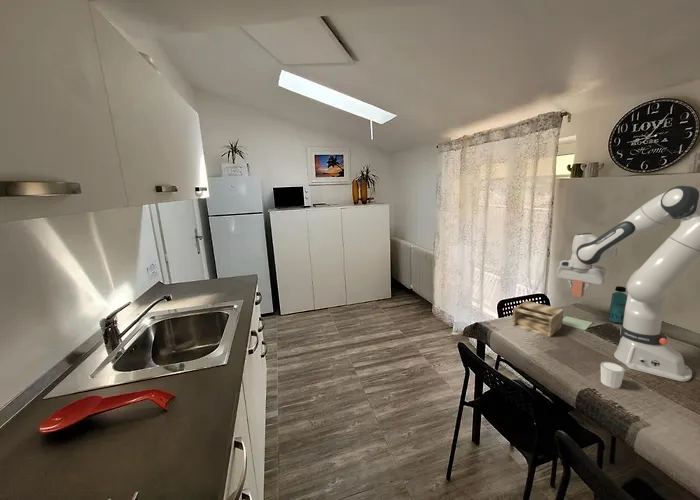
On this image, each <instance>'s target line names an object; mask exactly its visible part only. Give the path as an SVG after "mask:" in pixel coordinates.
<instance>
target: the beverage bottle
mask: <svg viewBox="0 0 700 500" xmlns="http://www.w3.org/2000/svg"><path fill="white" fill-rule="evenodd" d="M614 290H615V292H613V293H612V294H611V301H610V305H609V313H608V314H609V315H608V320H610V321H612V322H613V323H623V320H624V312H625V306H626V301H627V296H628V294H626V292H627V288H626V287H625V286H622V285H621V286H620V285H617V286H615V289H614Z"/></svg>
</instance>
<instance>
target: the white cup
mask: <svg viewBox="0 0 700 500" xmlns="http://www.w3.org/2000/svg"><path fill="white" fill-rule="evenodd" d="M625 371H626V369H625V368H624V367H623V366H622V365H620V364H617V363H614V362H611V361H602V362H601V363H600V382H601V384H603V385H605V386H606V387H608V388H612V389H620V388H621V387H622V382H623V379H624V375H625V373H626V372H625Z"/></svg>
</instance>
